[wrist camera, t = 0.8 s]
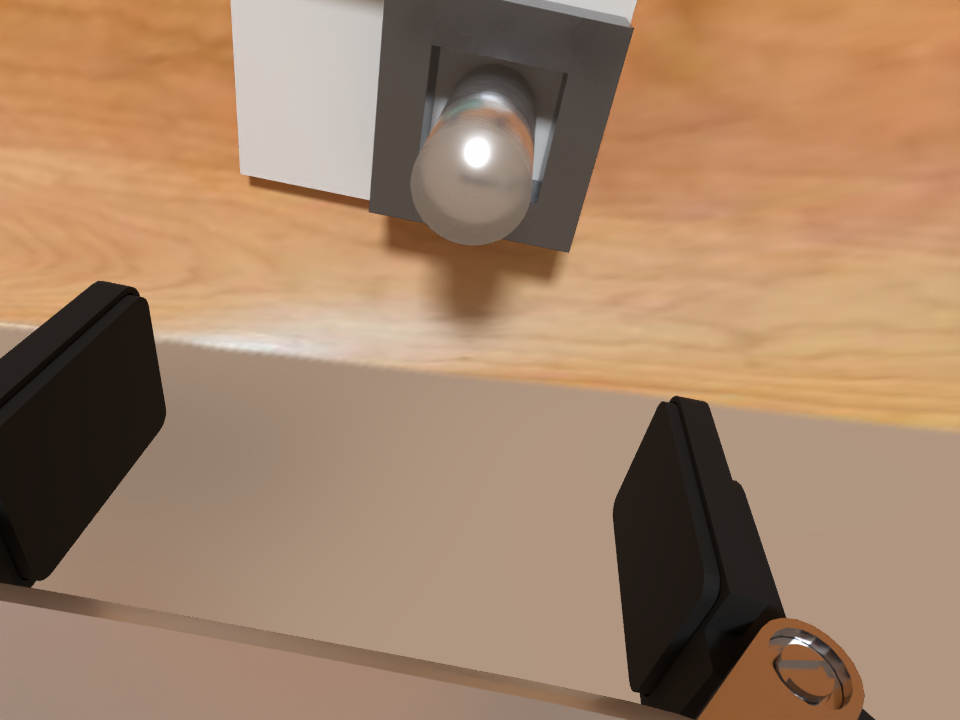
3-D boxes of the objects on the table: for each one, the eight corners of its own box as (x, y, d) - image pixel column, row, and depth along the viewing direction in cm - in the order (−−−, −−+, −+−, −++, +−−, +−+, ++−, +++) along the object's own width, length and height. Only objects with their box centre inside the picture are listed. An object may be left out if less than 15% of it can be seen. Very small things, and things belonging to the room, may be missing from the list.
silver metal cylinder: (545, 73, 27) (544, 141, 19) (526, 162, 30) (517, 255, 22) (456, 55, 27) (417, 115, 19) (444, 145, 30) (404, 233, 22)
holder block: (625, 17, 26) (633, 28, 23) (567, 226, 31) (568, 252, 29) (401, -31, 26) (385, -25, 23) (382, 188, 31) (368, 211, 29)
